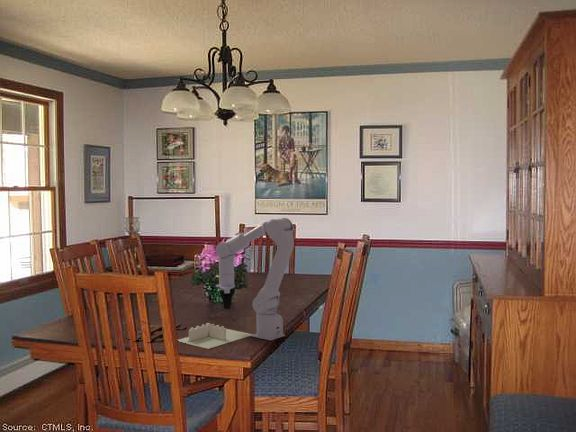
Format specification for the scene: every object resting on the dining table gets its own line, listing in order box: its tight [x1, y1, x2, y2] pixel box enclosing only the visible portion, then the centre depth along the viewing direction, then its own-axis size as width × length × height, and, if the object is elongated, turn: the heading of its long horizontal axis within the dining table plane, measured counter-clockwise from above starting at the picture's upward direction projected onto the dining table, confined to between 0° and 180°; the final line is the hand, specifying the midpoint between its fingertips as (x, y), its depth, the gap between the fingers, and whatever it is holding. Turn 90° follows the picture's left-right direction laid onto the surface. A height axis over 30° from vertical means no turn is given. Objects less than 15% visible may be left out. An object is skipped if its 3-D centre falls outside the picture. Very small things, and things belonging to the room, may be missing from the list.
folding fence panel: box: [210, 323, 227, 340], centre depth 209 cm, size 8×1×5 cm, turn 48°
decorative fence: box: [137, 323, 188, 343], centre depth 218 cm, size 23×2×15 cm
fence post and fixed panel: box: [188, 322, 211, 341], centre depth 210 cm, size 2×10×5 cm, turn 141°
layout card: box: [177, 328, 255, 350], centre depth 211 cm, size 17×23×1 cm
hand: (227, 308), depth 221 cm, fingers closed
